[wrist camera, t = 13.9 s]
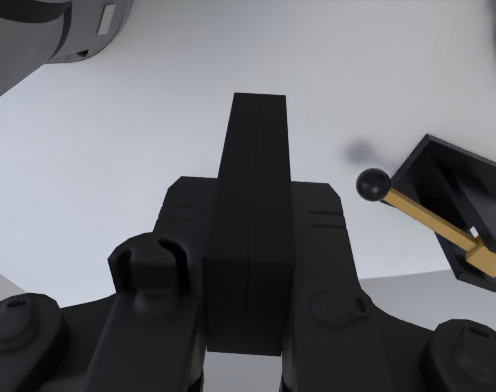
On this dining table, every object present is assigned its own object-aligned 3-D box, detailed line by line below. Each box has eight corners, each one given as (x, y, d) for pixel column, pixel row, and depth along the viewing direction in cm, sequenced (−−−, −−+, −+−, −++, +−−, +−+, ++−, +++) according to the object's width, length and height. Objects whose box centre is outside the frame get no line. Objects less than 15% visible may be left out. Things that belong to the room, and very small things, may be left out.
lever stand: (378, 195, 46) (407, 280, 36) (426, 133, 41) (477, 212, 31) (461, 227, 48) (511, 315, 38) (517, 172, 43) (593, 257, 33)
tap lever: (353, 181, 40) (346, 195, 37) (370, 157, 38) (365, 169, 35) (487, 264, 38) (490, 284, 35) (512, 242, 36) (517, 262, 33)
